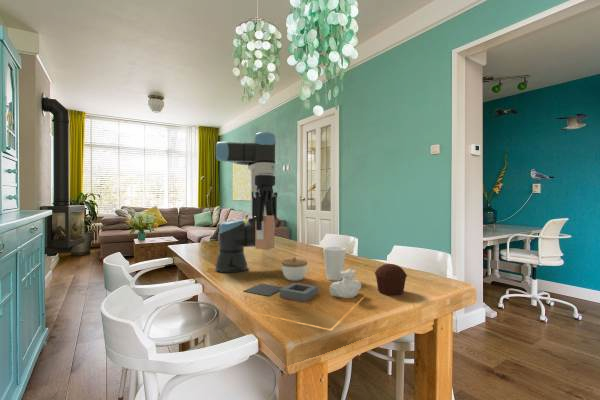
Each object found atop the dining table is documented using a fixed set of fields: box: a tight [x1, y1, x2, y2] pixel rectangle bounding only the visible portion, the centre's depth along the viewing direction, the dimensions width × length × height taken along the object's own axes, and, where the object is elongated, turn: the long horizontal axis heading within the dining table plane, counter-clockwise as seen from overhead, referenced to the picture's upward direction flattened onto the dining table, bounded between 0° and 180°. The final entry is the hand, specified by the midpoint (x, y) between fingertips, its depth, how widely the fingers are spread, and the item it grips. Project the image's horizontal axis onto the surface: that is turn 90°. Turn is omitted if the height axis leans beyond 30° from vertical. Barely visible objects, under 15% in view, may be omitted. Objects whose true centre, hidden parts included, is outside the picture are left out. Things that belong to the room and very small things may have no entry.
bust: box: [329, 268, 362, 299], centre depth 106 cm, size 12×8×11 cm
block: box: [255, 215, 275, 251], centre depth 113 cm, size 5×5×12 cm
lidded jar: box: [281, 257, 308, 282], centre depth 129 cm, size 11×11×9 cm
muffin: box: [374, 263, 408, 297], centre depth 113 cm, size 12×11×10 cm
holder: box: [279, 282, 319, 303], centre depth 107 cm, size 10×10×3 cm
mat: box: [243, 283, 285, 298], centre depth 113 cm, size 11×11×1 cm
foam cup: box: [322, 246, 346, 282], centre depth 131 cm, size 10×9×13 cm
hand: (264, 238), depth 113 cm, fingers closed on block, 5 cm apart
